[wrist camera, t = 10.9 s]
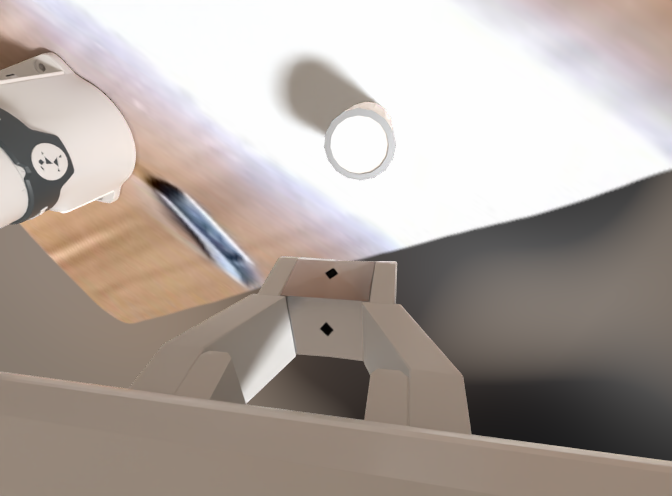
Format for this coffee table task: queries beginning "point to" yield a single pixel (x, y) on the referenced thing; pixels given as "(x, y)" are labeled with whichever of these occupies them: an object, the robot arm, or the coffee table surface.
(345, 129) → the shot glass
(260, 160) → the coffee table surface
